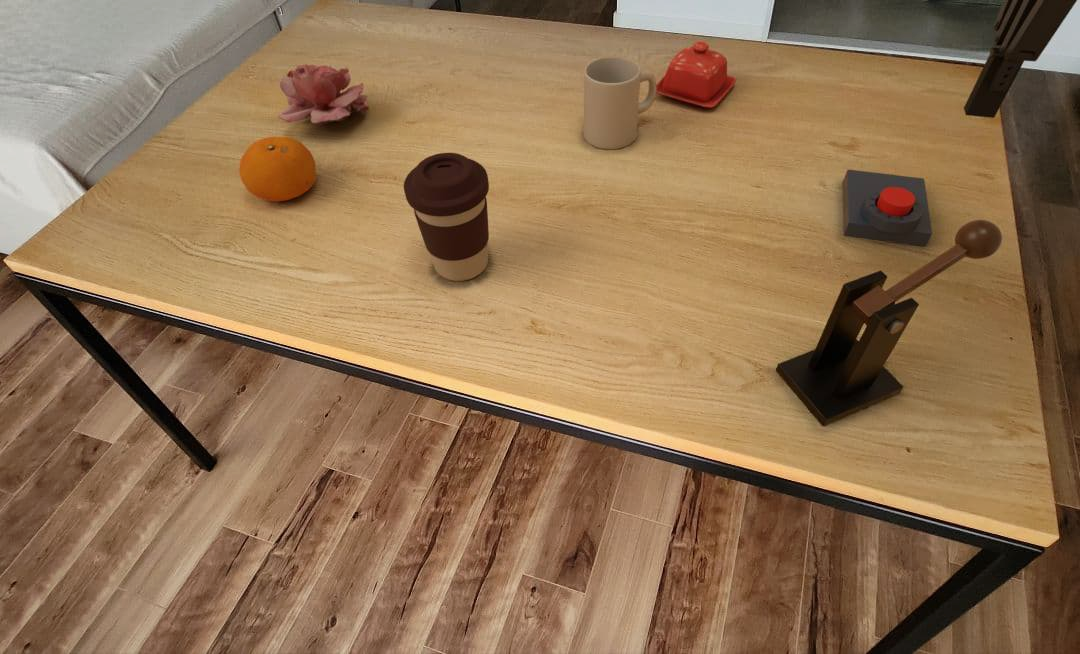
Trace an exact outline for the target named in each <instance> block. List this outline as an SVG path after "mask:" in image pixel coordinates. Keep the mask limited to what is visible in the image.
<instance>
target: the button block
mask: <svg viewBox="0 0 1080 654" xmlns="http://www.w3.org/2000/svg"><path fill="white" fill-rule="evenodd" d="M889 187H899V188H903V189H905V190H908V191H909V192H911V193H912V194H913V195H914V197H915V202H914V204H913V206H912V208H911V210H910V212H909V214H908V215H906V216H903V217H897V216H890V215H888V214H886V213H884V212H881V211H880V210H879V209H878V208H877V201H878V199H879V197H880V194H881V192H882V191H883V190H884V189H886V188H889ZM842 208H843V209H842V210H843V213H842V214H843V236H847V237H855V238H862V239H868V240H876V241H883V242H888V243H889V242H890V243H897V244H904V245H911V246H918V247H927V245H928V243H929V242H930V239H931V238H932V236H933V228H932V222H931V215H930V209H929V202H928V195H927V189H926V183H925V178H923V177H915V176H907V175H900V174H899V175H898V174H891V173H890V174H889V173H882V172H873V171H864V170H856V169H849V168H848V169H846V172H845V175H844V178H843V180H842Z"/></svg>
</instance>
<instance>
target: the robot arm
mask: <svg viewBox="0 0 1080 654" xmlns="http://www.w3.org/2000/svg"><path fill="white" fill-rule="evenodd" d="M1077 1H1078V0H1003V1H1002V4H1001V7H1000V10H999V12H998V13H997V17H996V19H995V22H994V23H993V28H992V29H993V31H994V32H996V34H995V36H994V38H993V46H994V47H991V48H990V51H989V55H988V56H987V59H986V61H985V62H984V65H983V67H982V70H981V71H980V73H979V75H978V78H977V79H976V82H975V84H974V86H973V87H972V90H971V92H970V94H969V96H968V98H967V100H966V102H965V104H964V106H963V110H964V115H965V116H969V117H970V116H971V117H980V118H981V117H982V118H991V119H994V118H995V117H996V116H997V113H998V112H999V110H1000V108H1001V106H1002V104H1003V102H1004V100H1005V98H1006V96H1007V94H1008V93H1009V91H1010V89H1011V87H1012V86H1013V83H1014V81H1015V79H1016V77H1017V75H1018V73H1020V70H1021V68H1022V66H1023V64H1024V63H1025V62H1037V61H1038V60H1039V58H1040V57H1041V55H1042V53H1043V52H1044V50H1045V49H1046V47H1047V46H1048V45H1049V43H1050V42H1051V40H1052V39H1053V37H1054V36H1055V34H1056V32H1057V31H1058V29H1059V28H1060V27H1061V25H1062V24H1063V22H1064V21H1065V19H1066V18H1067V17H1068V15H1069V13H1070V12H1071V10H1072V9H1073V7H1074V6H1075V5H1076V3H1077Z"/></svg>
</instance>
